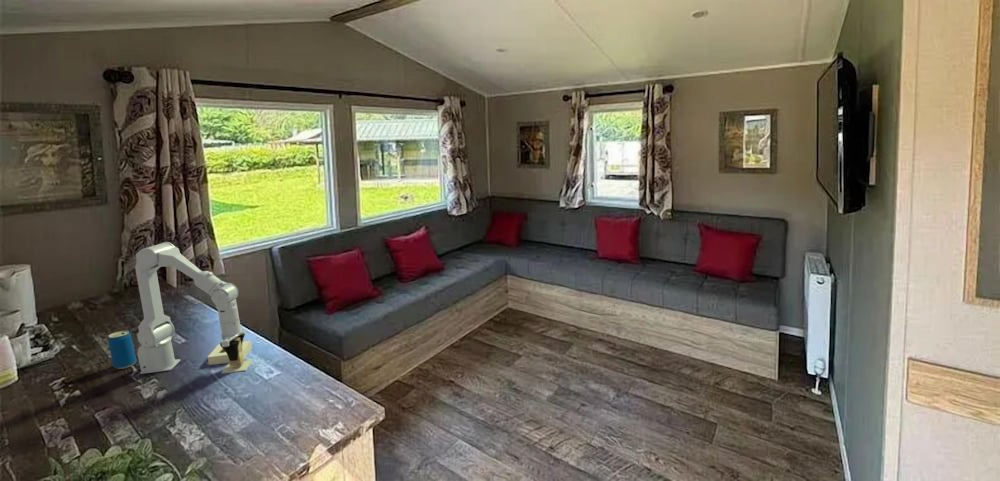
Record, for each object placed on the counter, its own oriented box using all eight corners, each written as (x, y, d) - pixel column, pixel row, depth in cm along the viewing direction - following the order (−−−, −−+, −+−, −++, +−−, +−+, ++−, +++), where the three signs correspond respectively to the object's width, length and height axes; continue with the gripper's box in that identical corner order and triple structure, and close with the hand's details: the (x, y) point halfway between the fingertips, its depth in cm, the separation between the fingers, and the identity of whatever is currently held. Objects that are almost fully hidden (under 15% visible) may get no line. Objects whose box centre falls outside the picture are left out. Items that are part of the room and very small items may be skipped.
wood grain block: (230, 367, 164) (225, 342, 162) (233, 362, 167) (229, 338, 165) (241, 365, 164) (237, 341, 162) (244, 361, 168) (240, 337, 166)
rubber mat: (221, 373, 162) (221, 372, 161) (229, 363, 169) (229, 362, 169) (246, 370, 163) (245, 369, 163) (252, 360, 170) (252, 359, 170)
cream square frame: (208, 365, 168) (207, 357, 168) (220, 351, 179) (218, 344, 178) (243, 361, 170) (241, 353, 170) (252, 347, 181) (250, 340, 180)
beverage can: (141, 362, 172) (134, 331, 170) (122, 371, 166) (115, 338, 164) (128, 360, 174) (121, 329, 172) (109, 368, 168) (102, 336, 166)
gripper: (235, 327, 156) (242, 365, 159) (248, 311, 170) (254, 347, 173) (211, 329, 155) (218, 368, 158) (226, 313, 168) (233, 349, 171)
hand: (235, 357), depth 165 cm, fingers closed on wood grain block, 3 cm apart
